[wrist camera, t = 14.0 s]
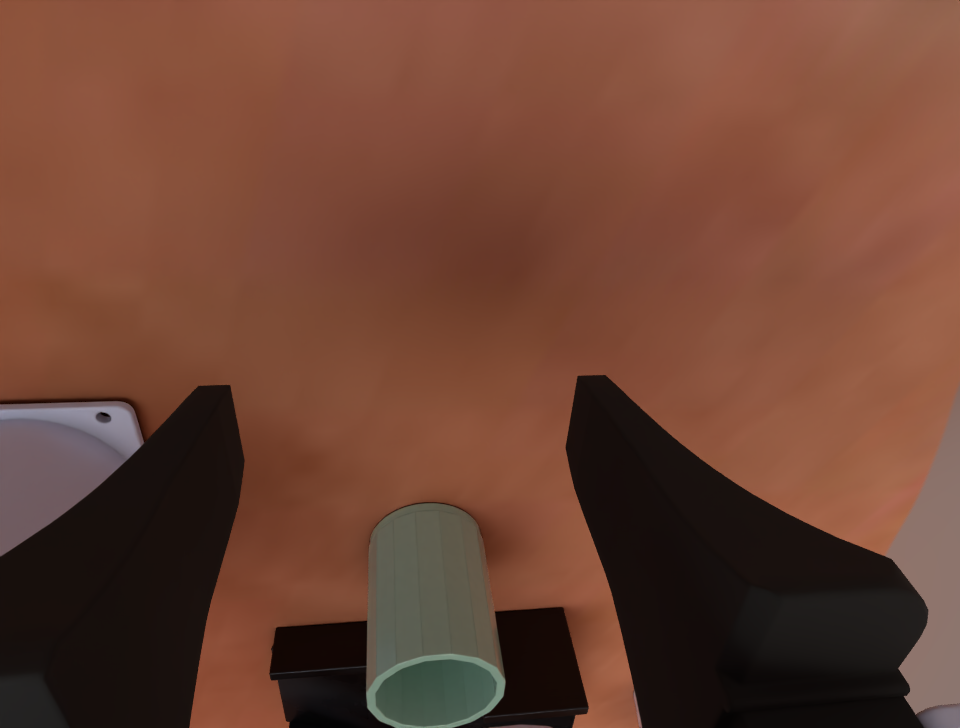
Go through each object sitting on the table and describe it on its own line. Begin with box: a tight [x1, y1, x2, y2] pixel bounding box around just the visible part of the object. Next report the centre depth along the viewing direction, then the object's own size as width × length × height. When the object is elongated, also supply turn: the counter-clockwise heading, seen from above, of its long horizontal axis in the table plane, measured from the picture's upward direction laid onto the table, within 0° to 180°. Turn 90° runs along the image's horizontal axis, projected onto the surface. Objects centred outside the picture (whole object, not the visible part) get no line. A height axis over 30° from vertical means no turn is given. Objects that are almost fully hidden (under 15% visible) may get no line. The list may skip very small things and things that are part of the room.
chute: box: [271, 644, 575, 728], centre depth 36 cm, size 15×7×5 cm, turn 87°
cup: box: [366, 503, 506, 728], centre depth 29 cm, size 5×5×8 cm
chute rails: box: [269, 608, 589, 728], centre depth 35 cm, size 15×8×6 cm, turn 87°
